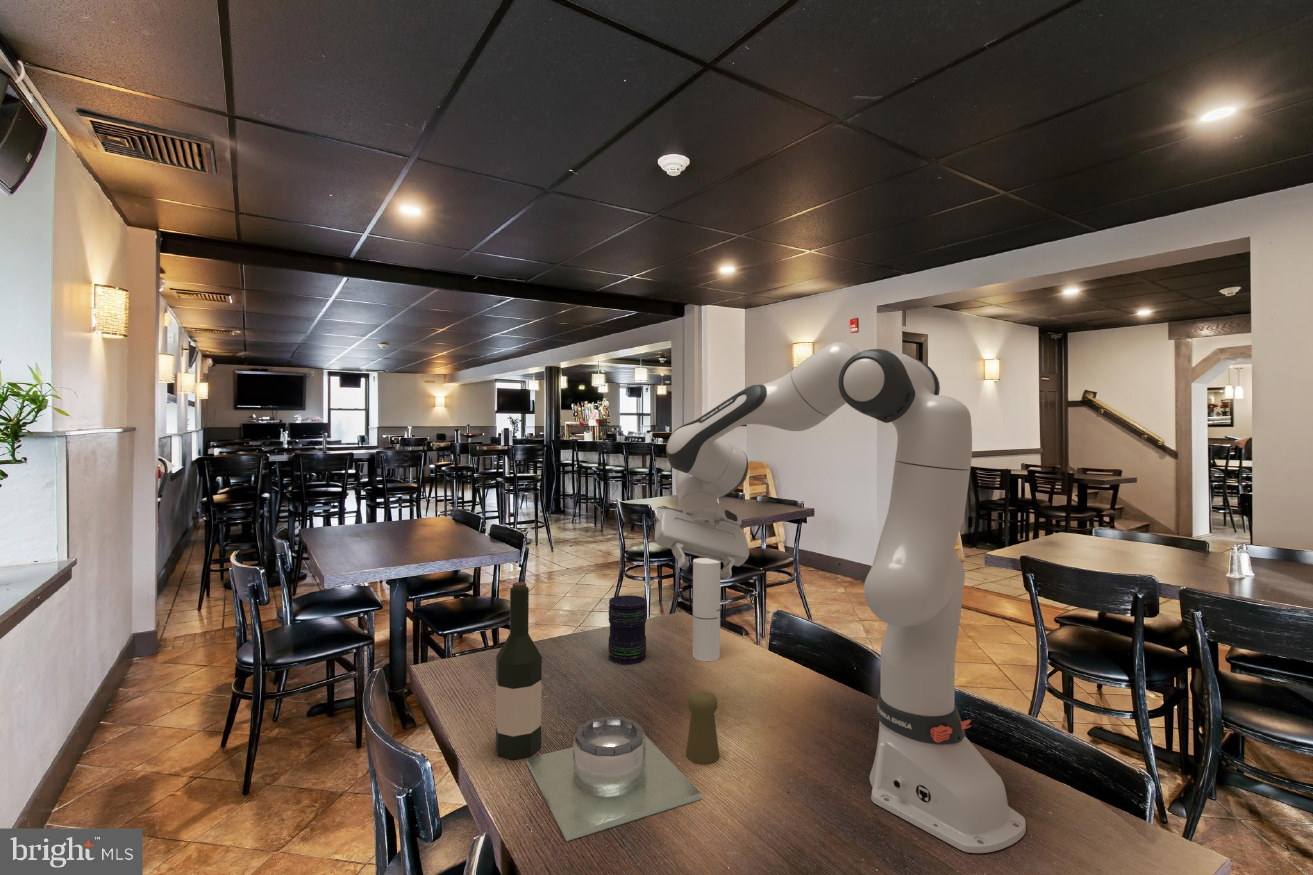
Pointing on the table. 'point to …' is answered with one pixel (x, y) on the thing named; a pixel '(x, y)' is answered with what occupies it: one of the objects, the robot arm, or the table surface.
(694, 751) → the cork
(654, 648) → the table surface
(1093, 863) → the table surface
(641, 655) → the storage jar
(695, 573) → the cylindrical container
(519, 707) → the wine bottle
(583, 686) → the table surface
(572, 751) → the duct stub
